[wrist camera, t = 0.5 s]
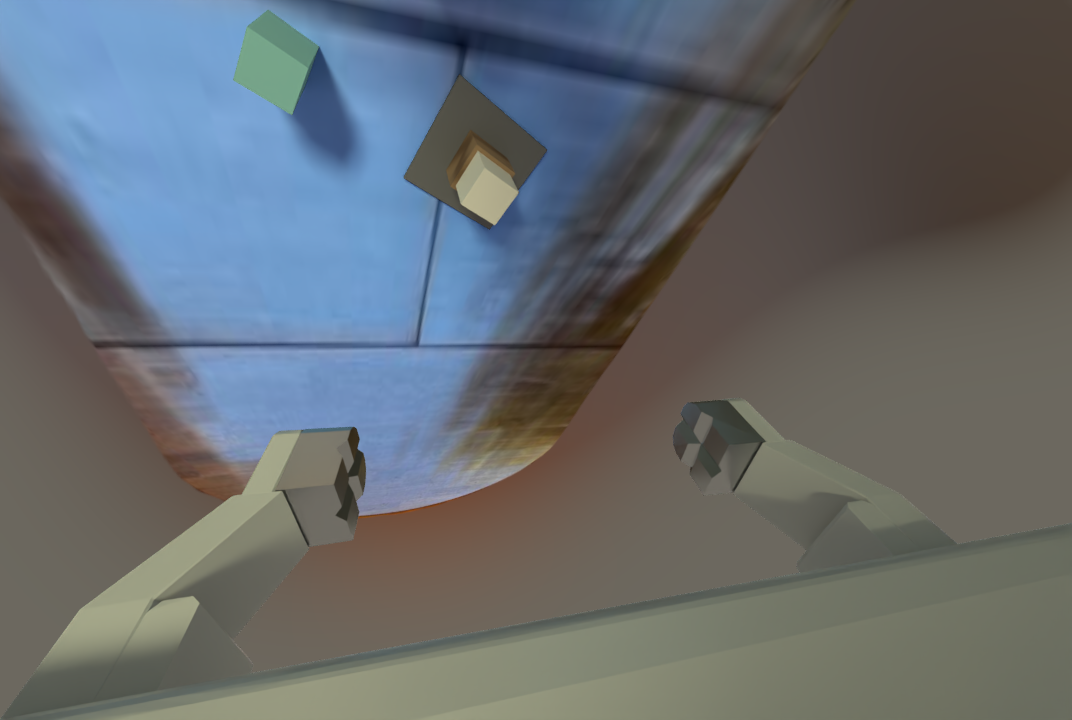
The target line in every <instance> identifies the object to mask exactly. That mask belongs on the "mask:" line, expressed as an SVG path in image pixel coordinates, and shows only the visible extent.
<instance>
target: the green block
mask: <svg viewBox="0 0 1072 720" xmlns="http://www.w3.org/2000/svg"><path fill="white" fill-rule="evenodd" d="M318 48H319V46H318V45H316V44H315V43H314V42H312V41H311V40H309V39H308V38H307V37H305V36H304V35H303V34H301V33H300V32H298V31H297V30H296V29H294V28H293V27H291V26H290V25H289V24H287V23H286V22H284V21H283V20H282V19H280V18H279V17H278V16H276V15H275V14H273V13H272V12H271V11H269V10H267V11H266V12H265V13H263V14H262V15H261V16H260V17H258V18H257V19H256V20H255V21H253V22H252V23H251V24H250V25H248V26H247V29H246V33H245V36H244V40H243V44H242V48H241V52H240V56H239V60H238V64H237V68H236V71H235V75H234V79H233V80H234V81H235V82H237V83H239V84H241V85H242V86H244V87H246V88H247V89H249V90H251V91H252V92H254V93H256V94H257V95H259V96H261V97H262V98H264V99H266V100H267V101H269V102H271V103H272V104H274V105H276V106H278V107H279V108H281V109H283V110H284V111H286V112H288V113H289V114H291V115H292V114H293V112H294V110H295V107H296V105H297V103H298V101H299V99H300V97H301V94H302V92H303V90H304V88H305V85H306V82H307V79H308V76H309V74H310V71H311V68H312V65H313V62H314V59H315V57H316V54H317V51H318Z"/></svg>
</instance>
